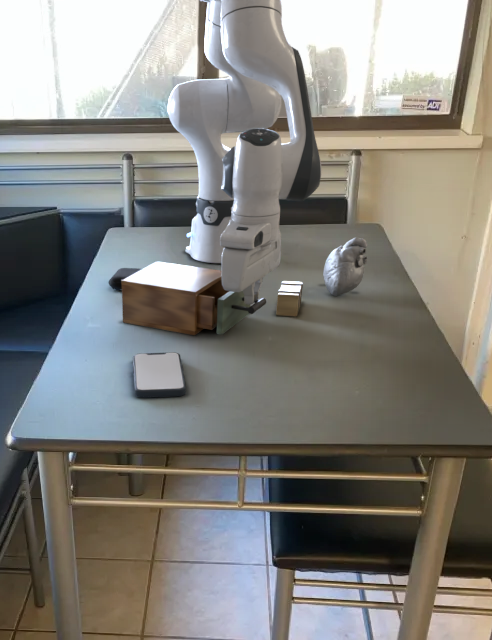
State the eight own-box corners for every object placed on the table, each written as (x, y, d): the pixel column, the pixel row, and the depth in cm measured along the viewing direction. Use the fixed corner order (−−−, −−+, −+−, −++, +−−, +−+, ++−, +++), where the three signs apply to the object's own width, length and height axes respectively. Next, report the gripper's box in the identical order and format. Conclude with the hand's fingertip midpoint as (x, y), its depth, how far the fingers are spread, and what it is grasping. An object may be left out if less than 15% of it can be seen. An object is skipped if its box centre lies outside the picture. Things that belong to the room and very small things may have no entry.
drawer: (272, 317, 165) (274, 283, 161) (245, 338, 156) (247, 303, 152) (183, 302, 174) (183, 270, 170) (152, 322, 164) (151, 288, 161)
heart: (323, 280, 185) (326, 228, 177) (365, 283, 182) (371, 231, 174) (314, 302, 179) (318, 249, 170) (359, 305, 176) (364, 252, 167)
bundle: (281, 301, 176) (282, 279, 173) (301, 302, 175) (303, 280, 172) (275, 315, 168) (277, 293, 166) (297, 316, 167) (299, 294, 165)
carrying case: (105, 293, 183) (169, 296, 180) (104, 279, 181) (169, 282, 178) (117, 278, 192) (178, 281, 189) (117, 265, 190) (179, 268, 187)
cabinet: (226, 312, 171) (228, 271, 166) (194, 335, 160) (195, 292, 155) (157, 301, 178) (156, 261, 173) (122, 322, 167) (121, 280, 163)
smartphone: (187, 398, 137) (180, 359, 150) (187, 389, 136) (180, 351, 149) (134, 400, 137) (132, 361, 150) (134, 391, 136) (132, 353, 149)
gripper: (261, 214, 159) (257, 285, 167) (215, 238, 145) (214, 315, 152) (291, 217, 157) (286, 289, 164) (248, 242, 142) (245, 320, 150)
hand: (251, 302), depth 158 cm, fingers closed, pressing on drawer
